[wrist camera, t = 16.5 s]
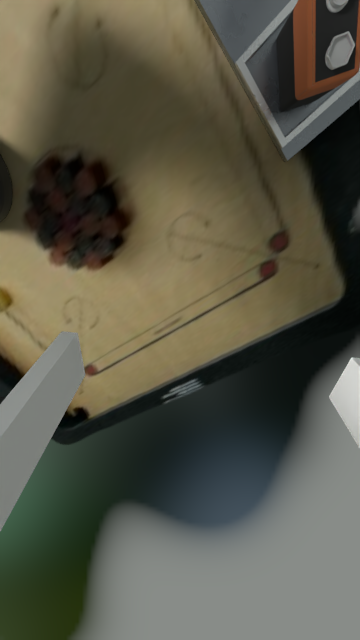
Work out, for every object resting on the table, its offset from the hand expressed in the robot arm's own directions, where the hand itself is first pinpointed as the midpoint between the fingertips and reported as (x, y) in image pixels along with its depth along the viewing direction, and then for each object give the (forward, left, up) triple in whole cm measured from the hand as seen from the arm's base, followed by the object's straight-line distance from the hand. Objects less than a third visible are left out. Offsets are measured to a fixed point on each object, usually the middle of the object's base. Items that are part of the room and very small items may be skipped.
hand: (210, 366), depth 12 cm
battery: (+20, +7, -30) cm, 37 cm away
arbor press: (+20, +10, -31) cm, 39 cm away
